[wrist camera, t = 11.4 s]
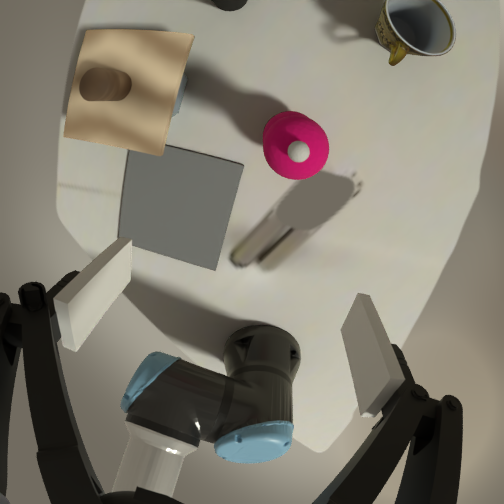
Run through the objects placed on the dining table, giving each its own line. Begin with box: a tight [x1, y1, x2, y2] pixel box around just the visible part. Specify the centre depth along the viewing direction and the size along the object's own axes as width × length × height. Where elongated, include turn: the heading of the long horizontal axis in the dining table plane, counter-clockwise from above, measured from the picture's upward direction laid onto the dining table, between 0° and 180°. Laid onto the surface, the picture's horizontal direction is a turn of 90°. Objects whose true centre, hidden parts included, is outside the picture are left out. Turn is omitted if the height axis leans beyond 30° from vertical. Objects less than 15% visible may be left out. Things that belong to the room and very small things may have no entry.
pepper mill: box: [263, 111, 329, 180], centre depth 31 cm, size 7×7×20 cm
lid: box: [63, 29, 195, 156], centre depth 29 cm, size 16×16×7 cm
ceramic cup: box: [375, 0, 456, 66], centre depth 27 cm, size 13×10×10 cm
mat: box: [119, 145, 244, 271], centre depth 46 cm, size 18×18×1 cm
